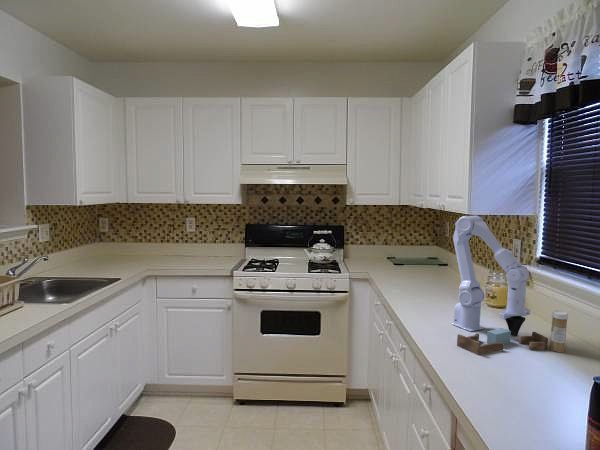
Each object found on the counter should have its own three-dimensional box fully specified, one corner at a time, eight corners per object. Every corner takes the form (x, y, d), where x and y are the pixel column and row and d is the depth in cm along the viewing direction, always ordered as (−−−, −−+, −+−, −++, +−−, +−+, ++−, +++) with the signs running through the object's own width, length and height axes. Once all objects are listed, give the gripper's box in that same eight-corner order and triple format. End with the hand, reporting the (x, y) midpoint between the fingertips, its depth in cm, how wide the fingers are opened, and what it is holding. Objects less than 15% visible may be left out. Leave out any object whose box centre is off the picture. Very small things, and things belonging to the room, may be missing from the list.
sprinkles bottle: (551, 346, 146) (554, 309, 145) (566, 350, 143) (569, 312, 142) (547, 350, 143) (551, 311, 141) (563, 353, 140) (566, 314, 138)
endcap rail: (454, 344, 146) (454, 333, 145) (476, 339, 151) (477, 328, 151) (480, 356, 136) (481, 344, 136) (503, 350, 141) (504, 339, 141)
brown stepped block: (530, 350, 142) (531, 338, 142) (518, 343, 149) (519, 332, 148) (547, 349, 143) (547, 338, 143) (534, 342, 150) (534, 331, 149)
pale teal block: (486, 343, 148) (487, 331, 148) (501, 340, 152) (501, 328, 151) (495, 347, 145) (496, 334, 144) (509, 343, 149) (510, 331, 148)
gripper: (513, 304, 144) (510, 342, 145) (539, 299, 150) (536, 336, 152) (495, 299, 150) (492, 335, 151) (521, 295, 157) (518, 330, 158)
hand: (513, 335), depth 152 cm, fingers closed
